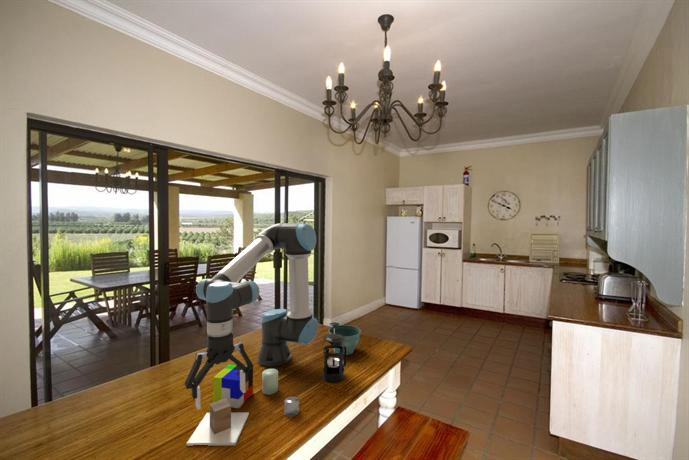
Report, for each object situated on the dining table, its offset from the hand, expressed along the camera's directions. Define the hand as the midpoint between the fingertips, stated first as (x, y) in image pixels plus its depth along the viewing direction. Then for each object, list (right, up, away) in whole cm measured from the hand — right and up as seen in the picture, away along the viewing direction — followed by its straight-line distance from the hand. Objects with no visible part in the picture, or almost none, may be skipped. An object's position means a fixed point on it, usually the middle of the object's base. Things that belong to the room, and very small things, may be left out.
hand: (221, 398), depth 96 cm
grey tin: (+21, -10, +9) cm, 24 cm away
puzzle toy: (-2, -9, +16) cm, 19 cm away
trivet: (0, -9, 0) cm, 9 cm away
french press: (+35, -9, +33) cm, 49 cm away
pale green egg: (+10, -9, +22) cm, 26 cm away
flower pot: (+39, -9, +58) cm, 70 cm away
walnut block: (0, -9, 0) cm, 9 cm away
